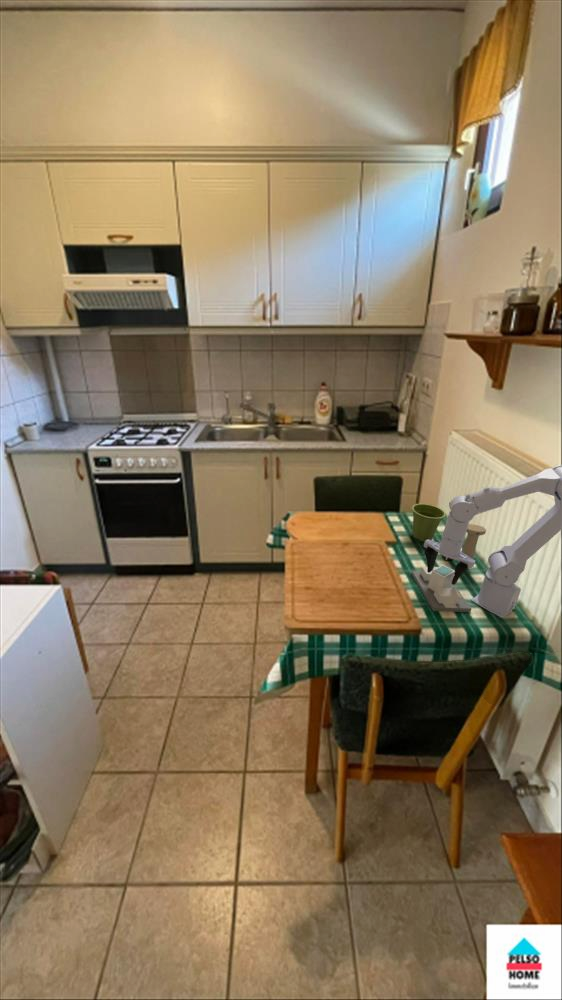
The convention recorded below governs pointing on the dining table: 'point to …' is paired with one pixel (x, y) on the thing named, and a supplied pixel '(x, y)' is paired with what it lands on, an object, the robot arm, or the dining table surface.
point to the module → (441, 578)
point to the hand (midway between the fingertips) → (441, 577)
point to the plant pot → (426, 521)
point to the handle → (472, 539)
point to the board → (432, 598)
